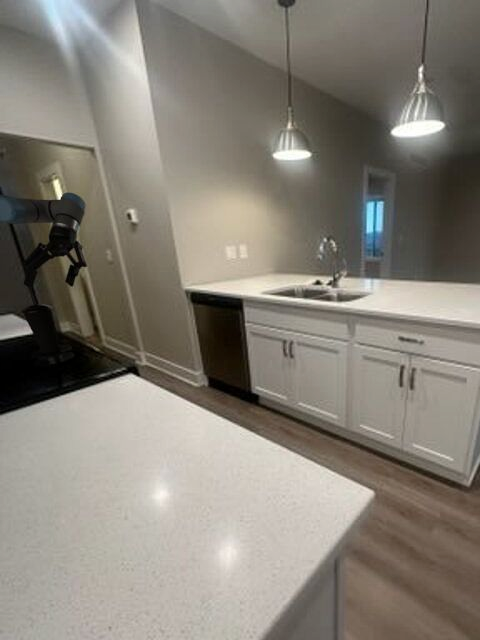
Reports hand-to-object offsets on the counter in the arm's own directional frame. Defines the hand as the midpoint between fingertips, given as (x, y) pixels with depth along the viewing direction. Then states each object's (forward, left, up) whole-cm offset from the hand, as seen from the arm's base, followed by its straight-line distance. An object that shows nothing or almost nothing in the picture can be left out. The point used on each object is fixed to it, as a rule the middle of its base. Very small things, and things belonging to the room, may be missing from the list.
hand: (48, 285), depth 109 cm
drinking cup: (+2, -8, -19) cm, 21 cm away
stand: (+2, -8, -23) cm, 25 cm away
